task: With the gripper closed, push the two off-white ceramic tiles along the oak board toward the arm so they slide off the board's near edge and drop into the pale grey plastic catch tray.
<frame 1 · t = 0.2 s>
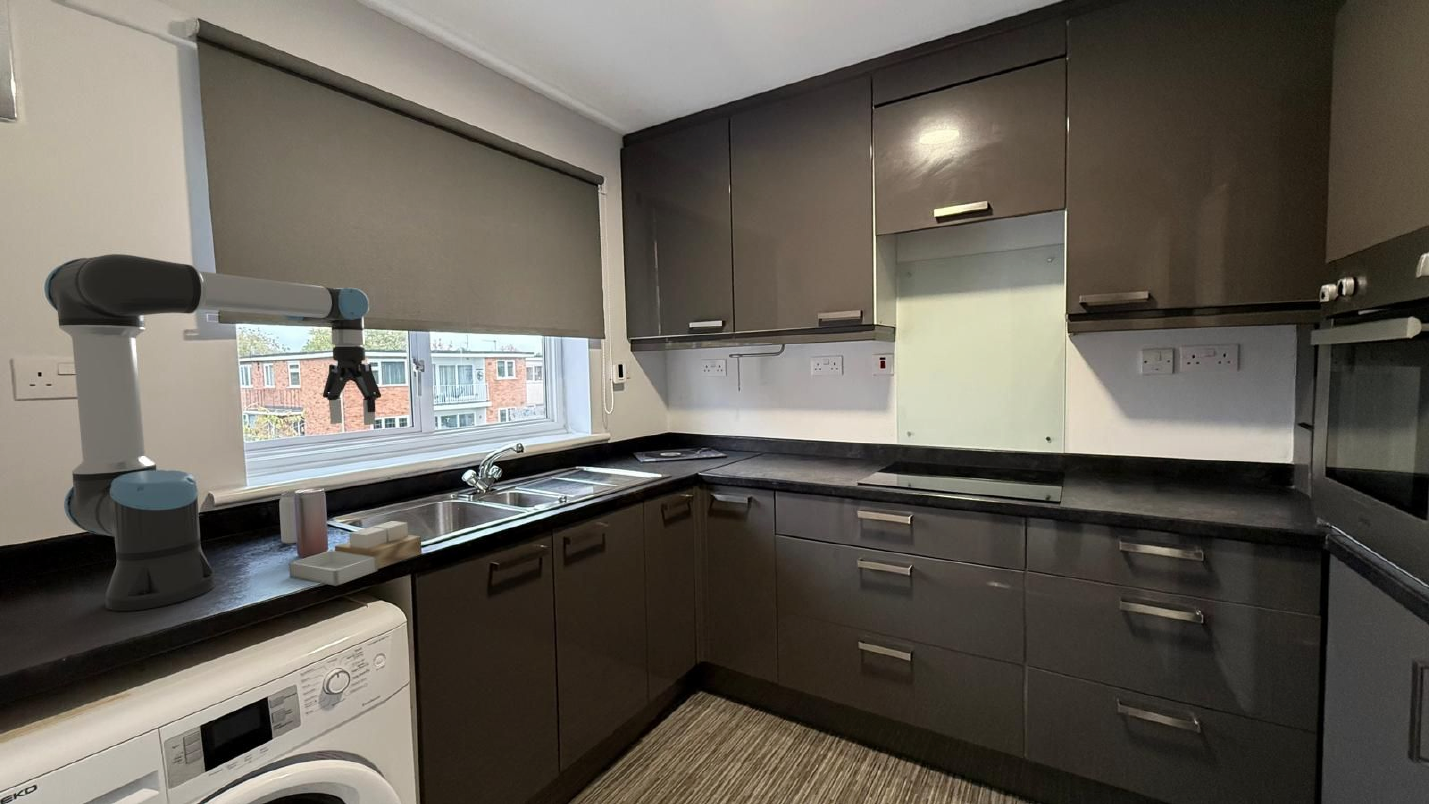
hand: (352, 424, 160), 28 cm above the worktop, fingers open, 13 cm apart
board: (379, 558, 132), on the worktop
tile front: (368, 544, 129), point 4 cm above the worktop, touching board
beverage can: (313, 554, 136), on the worktop
tray: (334, 574, 122), on the worktop
tile rear: (390, 537, 134), point 4 cm above the worktop, touching board
can: (297, 541, 147), on the worktop
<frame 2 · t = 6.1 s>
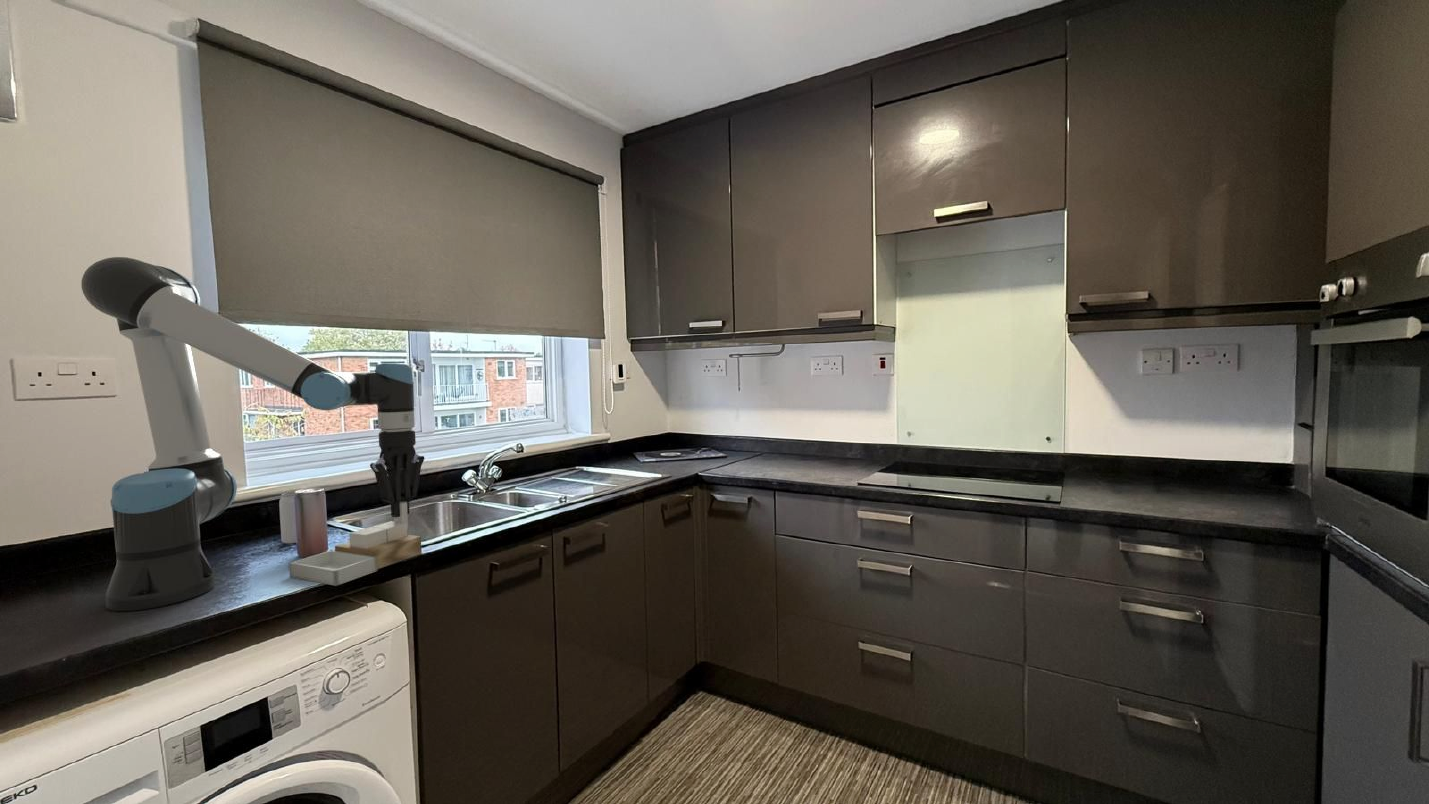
hand: (401, 529, 137), 5 cm above the worktop, fingers closed
tile rear: (389, 537, 134), point 4 cm above the worktop, touching board, gripper
everything else where it was.
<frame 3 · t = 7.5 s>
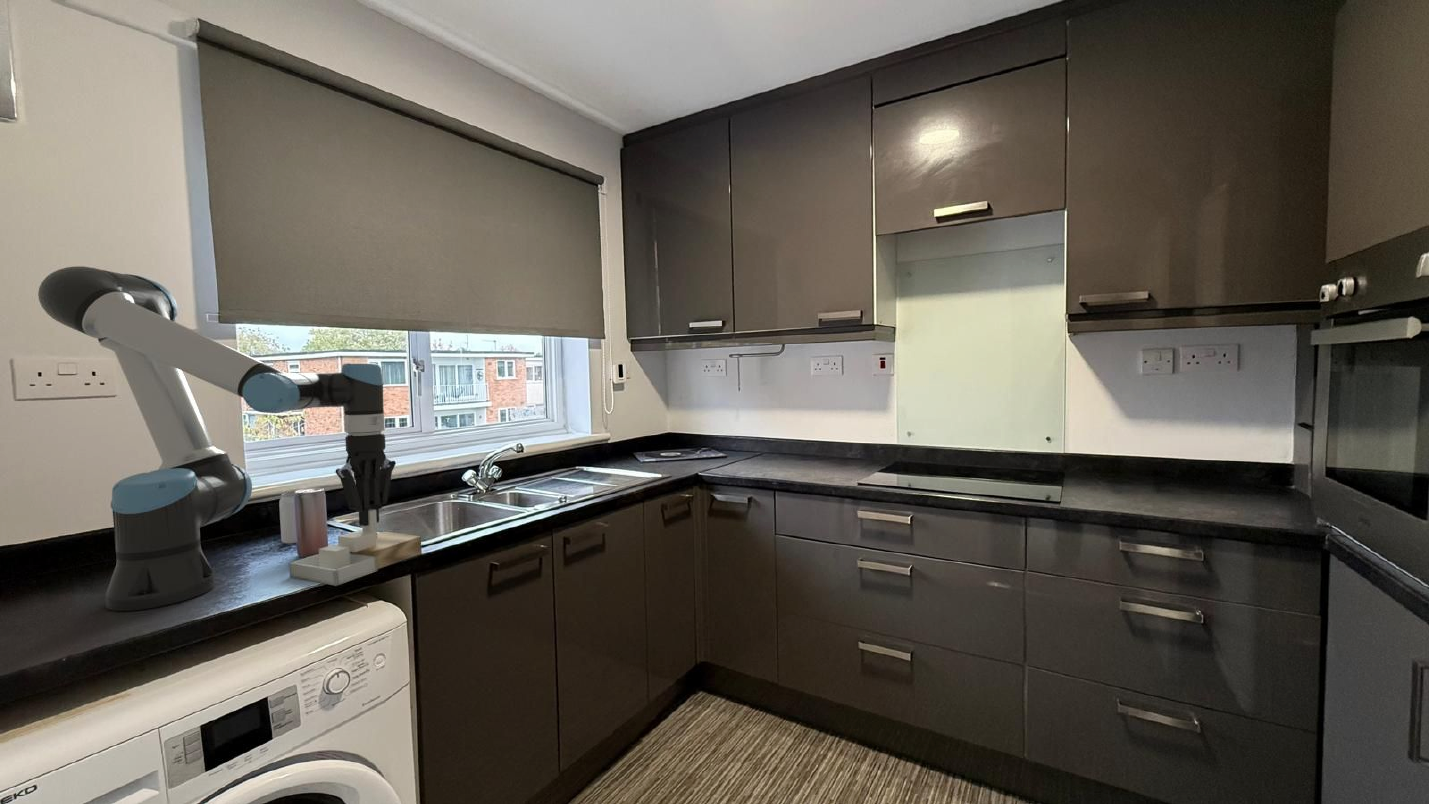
hand: (370, 538, 130), 5 cm above the worktop, fingers closed
tile front: (341, 557, 123), point 3 cm above the worktop, tilted 90°, touching tray
tile rear: (357, 547, 127), point 4 cm above the worktop, touching gripper
everything else where it was.
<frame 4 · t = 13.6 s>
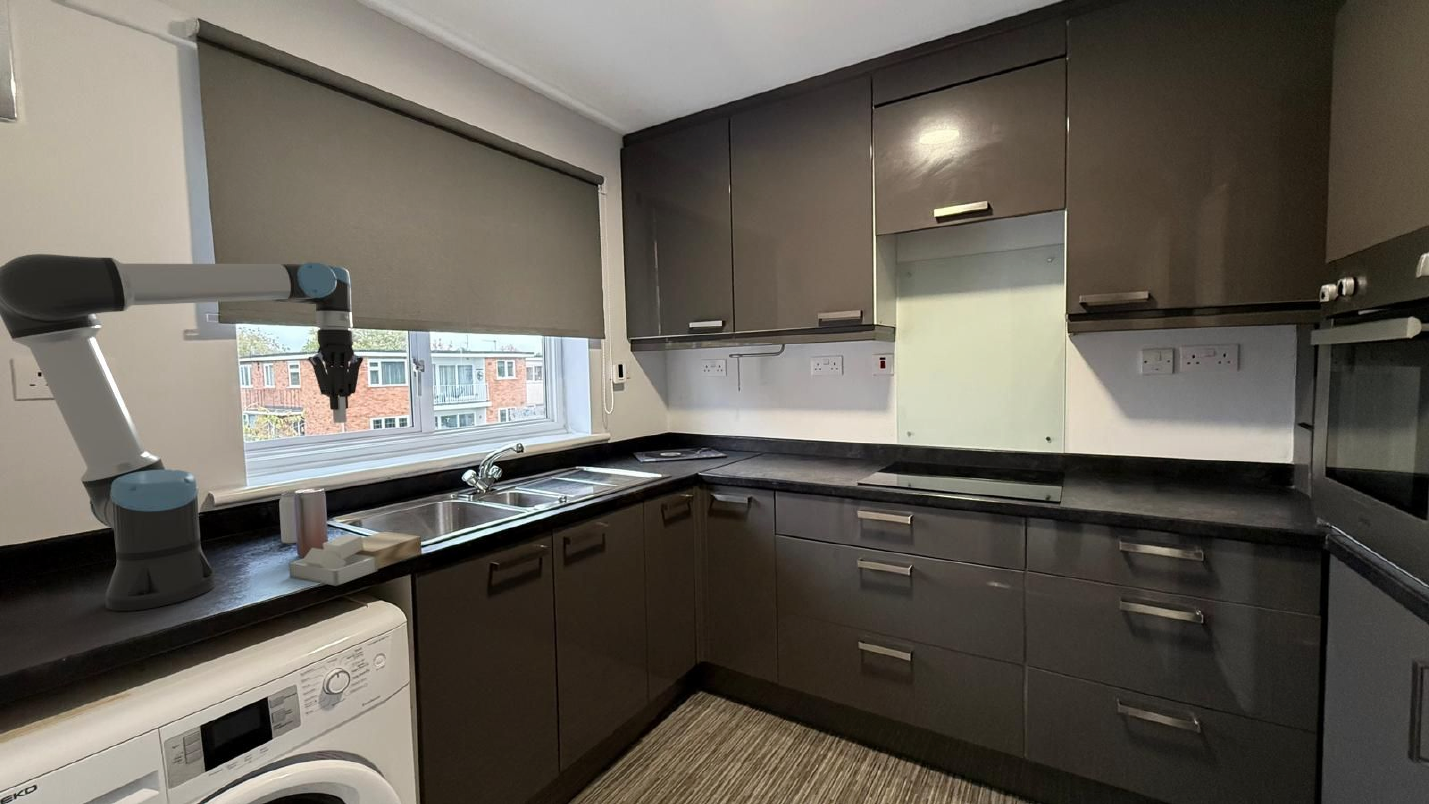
hand: (340, 422, 149), 29 cm above the worktop, fingers closed
tile front: (329, 555, 121), point 4 cm above the worktop, tilted 135°, touching tile rear, tray
tile rear: (344, 553, 124), point 4 cm above the worktop, tilted 8°, touching board, tile front
everything else where it was.
at the end: tile front inside the target area (0.3 cm from its centre), point 4.4 cm above the worktop; tile rear inside the target area (3.4 cm from its centre), point 3.7 cm above the worktop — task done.
